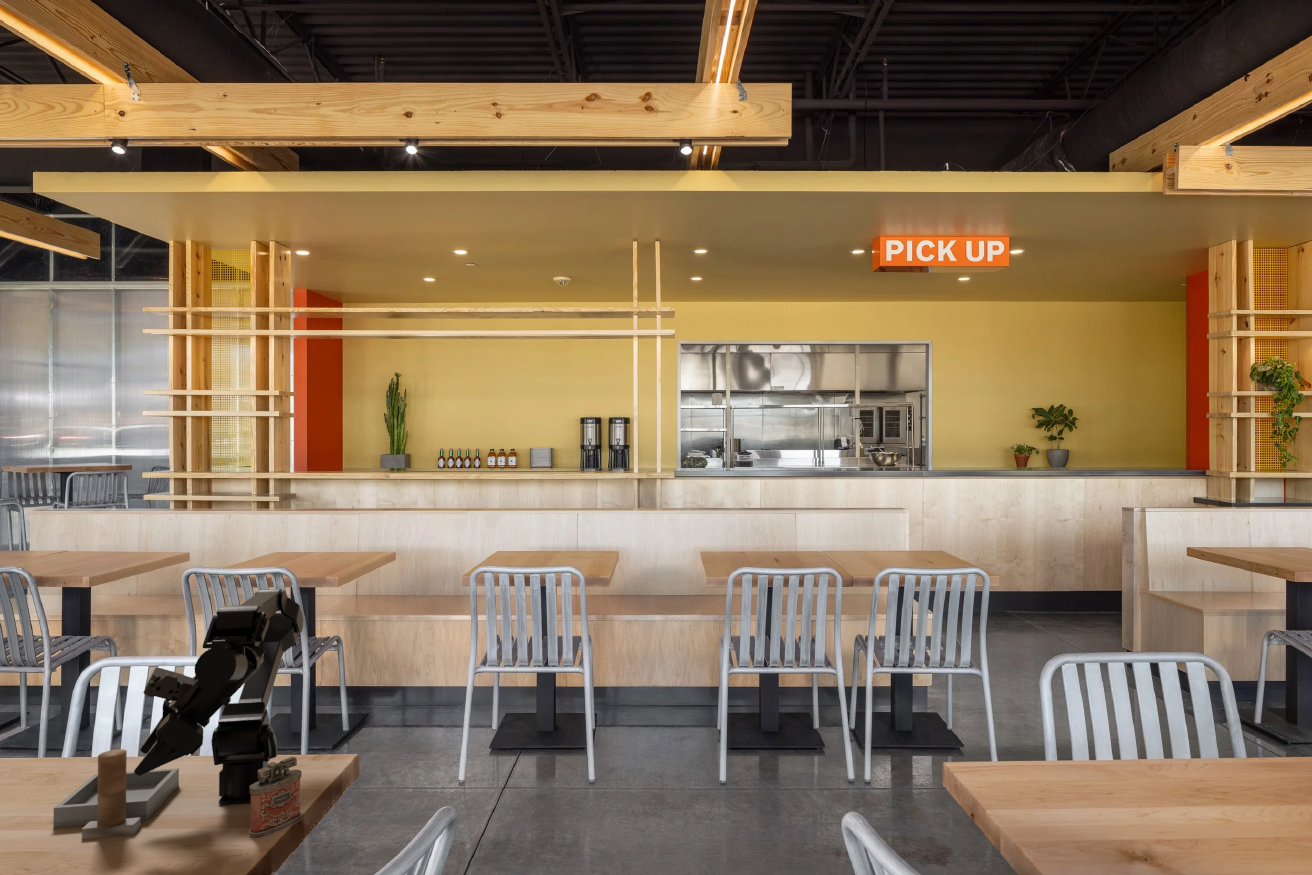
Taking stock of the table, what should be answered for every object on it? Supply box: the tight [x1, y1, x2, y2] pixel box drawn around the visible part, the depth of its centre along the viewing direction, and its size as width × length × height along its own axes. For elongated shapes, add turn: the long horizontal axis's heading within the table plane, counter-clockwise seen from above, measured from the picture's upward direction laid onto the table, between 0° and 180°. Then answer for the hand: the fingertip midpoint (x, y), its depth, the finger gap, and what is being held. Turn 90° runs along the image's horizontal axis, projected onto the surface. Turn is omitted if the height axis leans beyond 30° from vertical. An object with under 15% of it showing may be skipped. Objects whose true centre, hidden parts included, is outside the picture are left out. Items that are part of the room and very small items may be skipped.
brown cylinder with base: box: [81, 748, 142, 840], centre depth 121 cm, size 7×4×12 cm, turn 102°
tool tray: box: [52, 767, 180, 828], centre depth 130 cm, size 13×13×3 cm
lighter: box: [248, 756, 303, 840], centre depth 123 cm, size 8×3×10 cm, turn 148°
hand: (139, 762), depth 123 cm, fingers open, 9 cm apart
